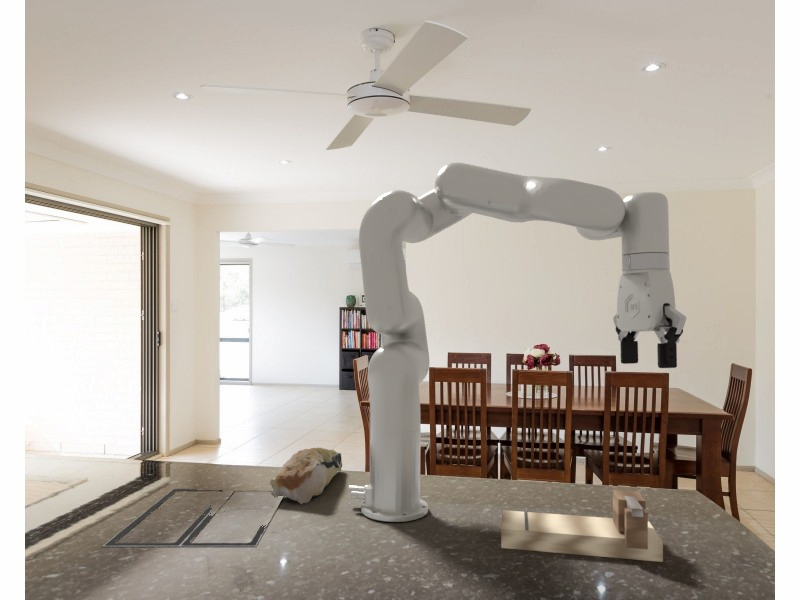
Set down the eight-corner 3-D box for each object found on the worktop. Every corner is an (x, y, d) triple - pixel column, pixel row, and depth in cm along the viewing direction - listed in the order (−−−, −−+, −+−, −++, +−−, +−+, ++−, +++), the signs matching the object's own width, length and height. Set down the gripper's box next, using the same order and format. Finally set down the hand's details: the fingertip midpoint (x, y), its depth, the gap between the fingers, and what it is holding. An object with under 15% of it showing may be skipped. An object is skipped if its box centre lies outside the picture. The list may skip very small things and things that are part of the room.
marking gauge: (623, 548, 85) (623, 507, 85) (612, 526, 94) (612, 489, 94) (651, 550, 84) (651, 509, 84) (638, 528, 93) (638, 491, 93)
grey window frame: (173, 491, 119) (102, 549, 89) (173, 488, 119) (102, 546, 89) (288, 491, 120) (256, 549, 90) (288, 488, 120) (256, 545, 90)
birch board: (501, 547, 90) (501, 528, 91) (502, 527, 99) (502, 509, 99) (662, 561, 86) (662, 541, 86) (648, 539, 95) (648, 520, 95)
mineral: (317, 433, 137) (356, 441, 135) (310, 471, 137) (349, 480, 135) (273, 450, 111) (321, 461, 109) (264, 497, 111) (312, 509, 109)
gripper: (597, 269, 105) (598, 362, 105) (661, 260, 89) (663, 370, 88) (632, 270, 107) (634, 361, 107) (701, 261, 91) (704, 369, 90)
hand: (647, 365), depth 97 cm, fingers open, 9 cm apart
